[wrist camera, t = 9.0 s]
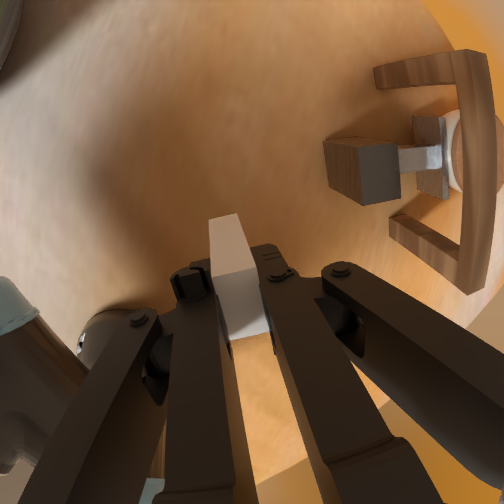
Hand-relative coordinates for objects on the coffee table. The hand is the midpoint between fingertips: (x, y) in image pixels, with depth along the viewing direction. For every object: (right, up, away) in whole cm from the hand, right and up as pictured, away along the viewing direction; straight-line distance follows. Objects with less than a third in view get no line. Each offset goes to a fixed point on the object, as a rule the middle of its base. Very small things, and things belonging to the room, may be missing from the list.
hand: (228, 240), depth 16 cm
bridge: (+18, +11, +15) cm, 26 cm away
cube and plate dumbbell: (+15, +10, +15) cm, 23 cm away
